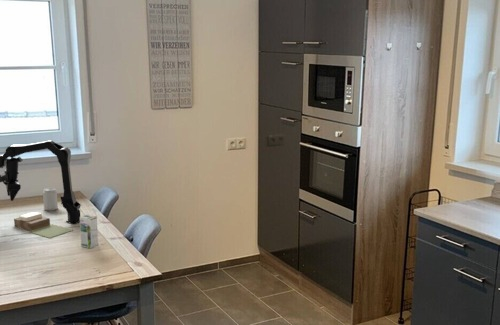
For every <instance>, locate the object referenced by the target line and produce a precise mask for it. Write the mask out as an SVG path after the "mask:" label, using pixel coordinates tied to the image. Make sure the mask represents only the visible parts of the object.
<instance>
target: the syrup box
mask: <svg viewBox="0 0 500 325" xmlns="http://www.w3.org/2000/svg"><path fill="white" fill-rule="evenodd" d="M79 232H80V247H81V248H82V247H83V248H86V249H92V248H94V247H97V246H99V234H98V233H99V232H98V216H97V215H93V214H83V215H80V222H79Z"/></svg>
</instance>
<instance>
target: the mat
mask: <svg viewBox="0 0 500 325" xmlns="http://www.w3.org/2000/svg"><path fill="white" fill-rule="evenodd" d="M70 232H74V229H71V228H67V227H64V226H61V225H60V226H59V225H57V224H54V223H53V224H50V225H48V226H45V227H42V228H39V229H35V230H32V231H28V233H30V234H33V235H37V236H40V237H43V238H48V239H52V238H55V237H58V236H61V235H63V234H66V233H67V234H68V233H70Z"/></svg>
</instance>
